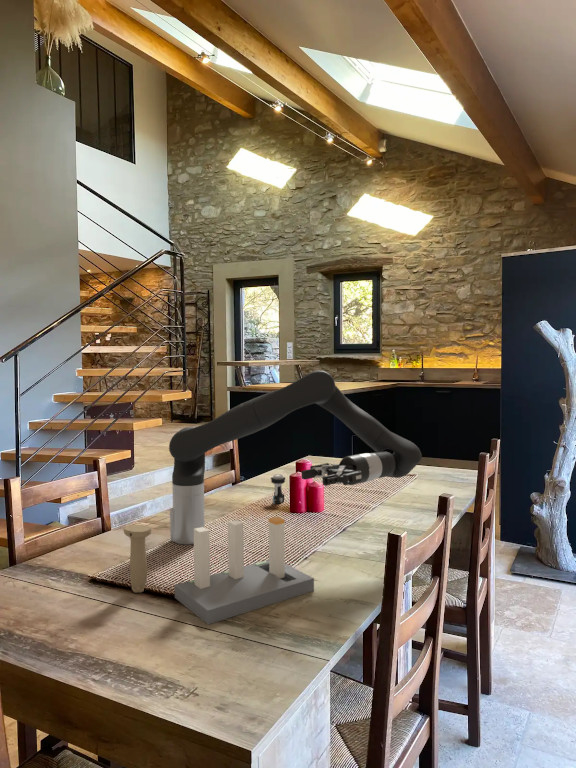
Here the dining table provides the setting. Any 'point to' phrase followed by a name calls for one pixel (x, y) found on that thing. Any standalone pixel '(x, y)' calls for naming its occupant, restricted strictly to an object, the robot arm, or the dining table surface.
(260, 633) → the dining table surface
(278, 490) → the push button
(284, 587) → the three peg stand
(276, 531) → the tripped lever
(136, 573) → the handle
